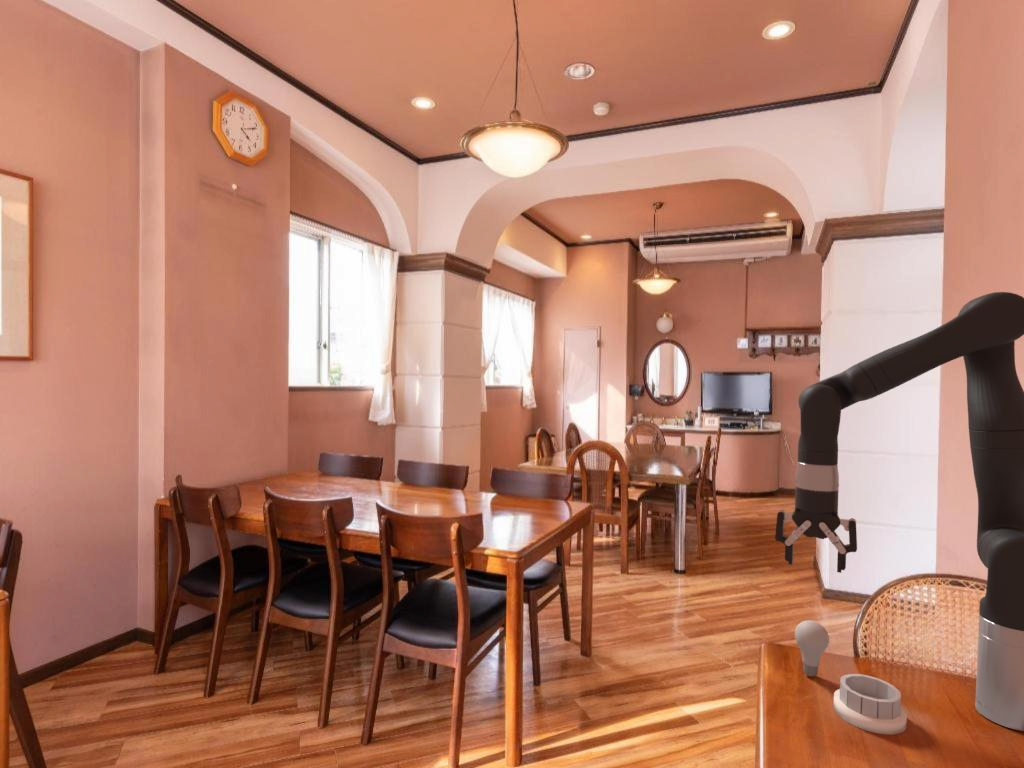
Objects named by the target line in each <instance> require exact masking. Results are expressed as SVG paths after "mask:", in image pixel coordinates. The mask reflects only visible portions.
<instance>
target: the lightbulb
mask: <svg viewBox="0 0 1024 768" xmlns="http://www.w3.org/2000/svg"><path fill="white" fill-rule="evenodd" d="M794 639H795V641H796V644H797V646H798V647H799V650H800V653H801V661H802V663H803V666H802V667H803V672H804V674H805V675H807V676H808V677H810V678H813V677H816V676H817V675H818V672H819V666H820V665H821V664H820V663H821V659H822V656H823V654H824V652H825V651H826V650H827V648H828V647H829V644H830V635H829V632H828V631H827V629H826V628H825V627H824V625H822V624H821V623H820V622H819V621H818V622H817V621H815V620H812V619H809V620H802V621H801V622H800V623H798V625H796V628H795V630H794Z"/></svg>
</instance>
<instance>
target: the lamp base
mask: <svg viewBox="0 0 1024 768" xmlns="http://www.w3.org/2000/svg"><path fill="white" fill-rule="evenodd" d="M832 706H833V710H834V711H835V713H836V714H837V715H838V717H839V718H841V719H842V720H844V721H845V722H846V723H848V724H850V725H851V726H853V727H857V728H858V729H861V730H863V731H868V732H871V733H874V734H878V735H891V736H892V735H898V734H902V733H903V732H904V731H905V730H906V729H907V719H908V717H907V716H908V715H907V710H906V709H905V708H904V707H903V706H902V693H901V691H900V690H899V689H897V688H896V687H895V686H894V685H893V684H892V683H889V682H887V681H885V680H883V679H881V678H879V677H875V676H870V675H867V674H862V673H848V674H845V675H842V676H840V681H839V688H837V689H836V690H835V691H834V693H833V705H832Z"/></svg>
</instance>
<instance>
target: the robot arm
mask: <svg viewBox="0 0 1024 768" xmlns="http://www.w3.org/2000/svg"><path fill="white" fill-rule="evenodd" d="M1023 336H1024V296H1021V295H1020V294H1017V293H1014V292H1010V291H997V292H995V291H994V292H991V293H987V294H986V293H985V294H984V295H982V296H978V297H976V298H973V299H971V300H969V301H967V303H965V304H964V305H963V306H962V307H961V309H960V310H959V312H958V314H957V316H956V317H953V318H952V319H951V320H949V321H947V322H946V323H944V324H942V325H940V326H937V327H936V328H935V329H932V330H930V331H927V332H926V333H923V334H921V335H920V336H917V337H914V338H912V339H910V340H907V341H905V342H904V341H903V343H900V344H897V345H894V346H892V347H889V348H888V349H885V350H883V351H881V352H879V353H876V354H874V355H872V356H870V357H868V358H866V359H864V360H862V361H859V362H858V363H855V364H853V365H852V366H850V367H848V368H846V370H844V371H842V372H839V373H837V374H834V375H832V376H829V377H827V378H824V379H823V380H820V381H818V382H815V383H813V384H811V385H809V386H807V387H805V388H804V389H803V390H802V391H801V393H800V394H799V396H798V407H799V409H800V435H799V437H798V443H797V463H796V465H797V466H796V469H795V479H794V484H795V491H794V492H795V495H794V499H795V500H794V511H793V512H789V511H785V510H784V509H779V511H778V512H777V514H776V522H775V523H776V525H775V526H776V527H775V534H774V535H775V537H774V539H775V540H776V542H780V543H782V544H783V545H784V549H785V550H784V560H785V562H788V565H791V566H792V565H793V564H794V550H795V549H794V548H795V547H794V542H795V541H796V540H798V538H800V537H801V536H802V535H804V536H805V537H807V538H817V539H819V540H820V539H821V540H824V539H828V540H829V541H830V542H831V544H832V545H833V546H834V547H835V548H836V550H837V561H836V562H837V563H836V564H837V565H836V566H837V567H836V568H837V570H836V572H837V573H839V574H840V573H842V571H845V570H846V566H847V554H848V553H856V552H857V550H858V541H857V540H858V537H857V533H858V532H857V520H856V519H855V518H849V519H847V518H845V519H844V518H840V516H839V487H840V478H839V477H840V474H839V473H840V472H839V466H838V465H839V464H838V461H839V439H838V436H839V430H840V423H841V417H842V416H841V414H842V410H844V409H847V408H848V407H851V406H852V405H854V404H857V403H859V402H863V401H867V400H871V399H873V398H876V397H878V396H880V395H882V394H884V393H886V392H888V391H891V390H893V389H895V388H897V387H899V386H901V385H903V384H905V383H907V382H910V381H913V380H914V379H916V378H917V377H920V376H921V375H924V374H925V373H928V372H929V371H932V370H934V369H935V368H936V369H937V368H938V367H940V366H942V365H944V364H946V363H949V362H951V361H953V360H956V359H958V358H962V357H963V362H964V366H965V367H964V368H965V371H966V372H965V373H966V401H967V402H966V403H967V417H968V419H967V421H968V423H967V424H968V426H967V427H968V435H969V437H968V438H969V446H970V447H969V448H970V454H971V461H972V469H973V475H974V476H973V477H974V482H975V487H976V493H977V504H978V505H977V508H978V509H977V530H976V531H977V532H976V551H977V555H978V557H979V560H980V561H981V563H982V564H983V565H984V567H985V568H986V569H987V579H986V591H985V595H984V596H983V597H981V598H980V599H979V608H978V610H979V613H978V614H979V615H978V636H977V659H976V660H977V662H976V680H975V681H976V683H975V684H976V685H975V686H976V687H975V703H974V704H975V707H974V708H975V710H976V711H977V712H978V713H979V714H980V715H982V717H984V718H985V719H988V720H989V721H991V722H993V723H995V724H997V725H1000V726H1002V727H1005V728H1009V729H1012V730H1016V731H1021V732H1024V389H1023V386H1022V384H1021V382H1020V380H1019V376H1018V373H1017V369H1016V355H1015V351H1016V350H1015V345H1016V344H1015V343H1016V342H1015V341H1016V340H1018V339H1020V338H1021V337H1023ZM790 519H792V522H793V523H794V524H795V525H796V527H795V528H794V529H793V531H792V532H791V533H790V534H789V535H788V536H787V535H785V534H784V529H785V524H787V523H788V522H789V520H790ZM840 526H842V527H843V528H844V530H845V531H846V532H848V540H849V543H847V544H844V542H843V541H842V540H841V538H840V536H839V534H838V533H837V532H836V530H837V529H838V528H839V527H840Z"/></svg>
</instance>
